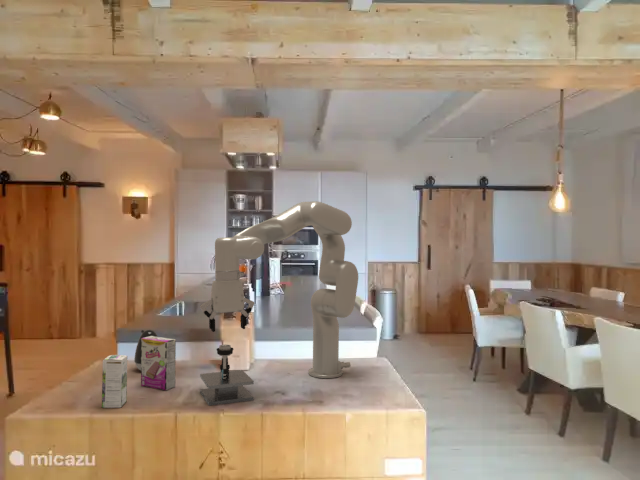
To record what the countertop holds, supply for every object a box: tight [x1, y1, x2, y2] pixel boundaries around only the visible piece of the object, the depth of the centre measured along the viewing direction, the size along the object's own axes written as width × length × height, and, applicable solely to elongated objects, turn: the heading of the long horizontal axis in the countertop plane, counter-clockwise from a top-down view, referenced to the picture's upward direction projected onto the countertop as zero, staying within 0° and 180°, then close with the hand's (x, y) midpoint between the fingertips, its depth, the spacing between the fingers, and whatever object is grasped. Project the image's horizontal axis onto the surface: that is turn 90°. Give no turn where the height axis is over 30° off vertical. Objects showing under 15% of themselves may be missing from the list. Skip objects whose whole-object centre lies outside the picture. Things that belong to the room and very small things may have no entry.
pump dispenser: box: [133, 329, 159, 372], centre depth 196 cm, size 10×10×15 cm
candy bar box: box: [140, 336, 177, 391], centre depth 175 cm, size 11×5×16 cm, turn 65°
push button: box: [216, 344, 234, 379], centre depth 166 cm, size 7×5×10 cm
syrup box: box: [101, 354, 128, 409], centre depth 157 cm, size 6×6×14 cm
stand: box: [199, 369, 255, 407], centre depth 166 cm, size 14×14×6 cm
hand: (228, 329), depth 166 cm, fingers open, 9 cm apart
